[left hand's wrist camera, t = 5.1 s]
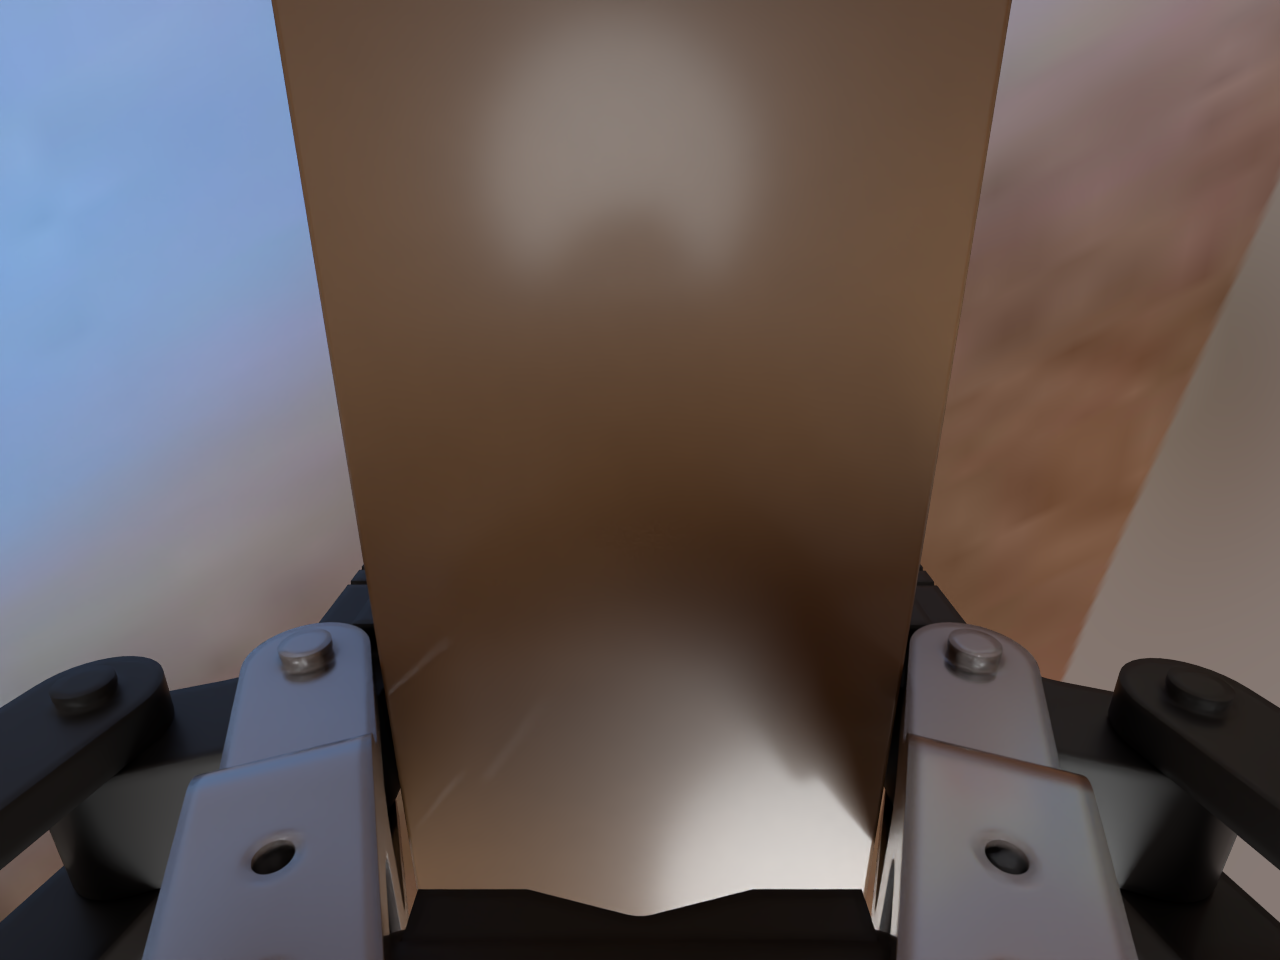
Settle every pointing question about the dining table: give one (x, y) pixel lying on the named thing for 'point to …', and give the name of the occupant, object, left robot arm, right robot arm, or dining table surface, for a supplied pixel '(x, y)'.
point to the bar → (641, 411)
